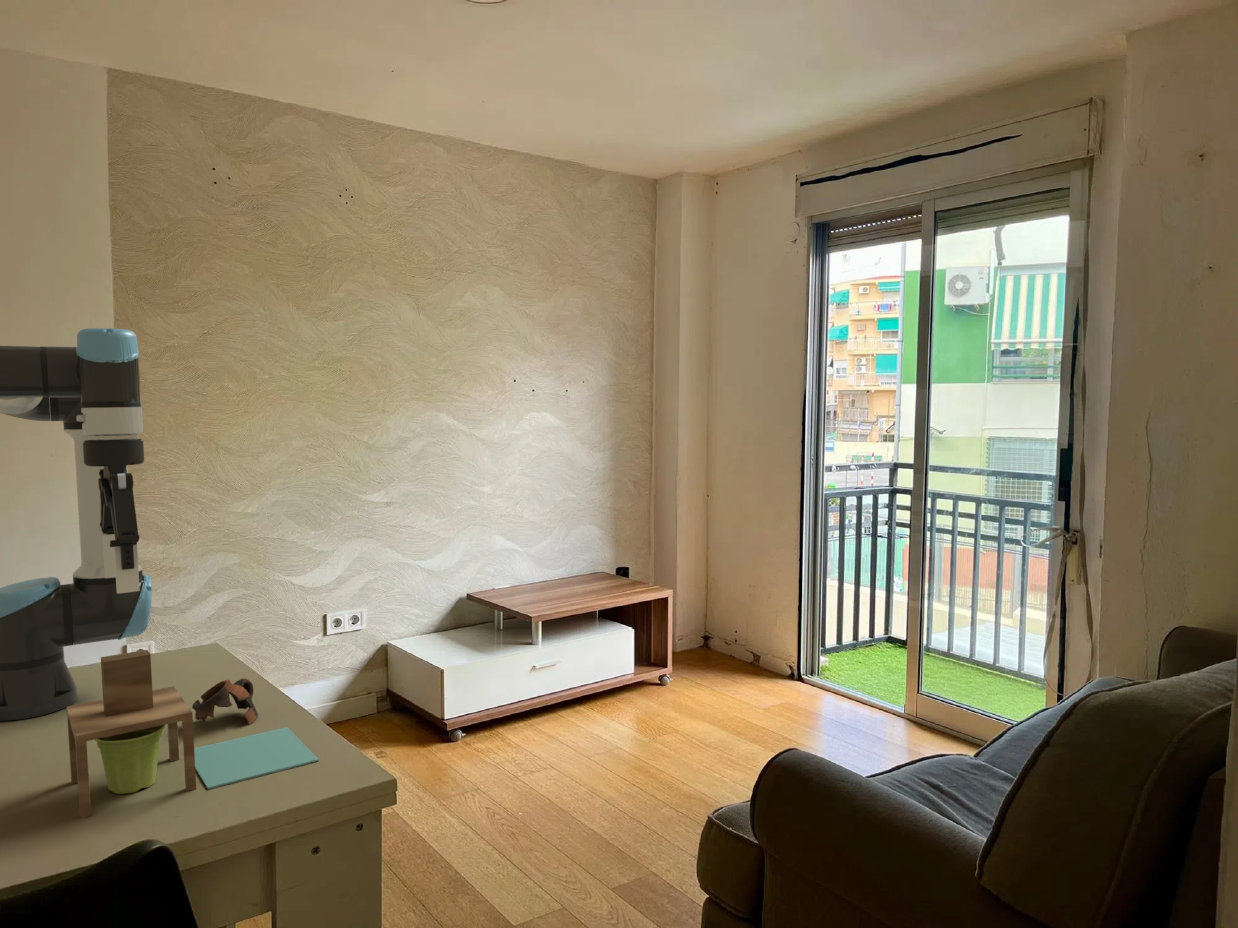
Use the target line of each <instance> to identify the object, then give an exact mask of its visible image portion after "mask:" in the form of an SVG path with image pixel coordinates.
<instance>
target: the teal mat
mask: <svg viewBox="0 0 1238 928" xmlns="http://www.w3.org/2000/svg"><path fill="white" fill-rule="evenodd" d="M194 754H195V772H196V773H197V774H198V776H199V777H200V778H201V779H200V780H202V782H203V784H204V785H206V786H205V788H207V790H211V789H216V788H218V787H223V786H226V785H231V784H235V783H239V782H242V781H246V780H251V779H255V778H258V777H263V776H266V775H270V774H273V773H278V772H282V771H285V770H290V769H293V767H294V768H297V766H298V767H300V766H304V765H309V764H312V763H311V762H313V763H316V761H317V762H319V758H318V757H317V756H316V755H315V754H314V753H313V752H312V751H311V750H310V748H308V747H307V746H306V745H305V744H304V743H303V741H302V740H301V739H300V738H299V737H297V735H296V734H295V733H294V732H293V731H292V730H291V729H290V728H289V727H288V726H286V727H280V728H278V729H272V730H269V731H264V732H260V733H259V732H258V733H254V734H250V735H247V736H242V737H237V738H233V739H229V740H225V741H221V742H216V743H212V744H207V745H203V746H198V747H194ZM262 775H263V776H262Z"/></svg>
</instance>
